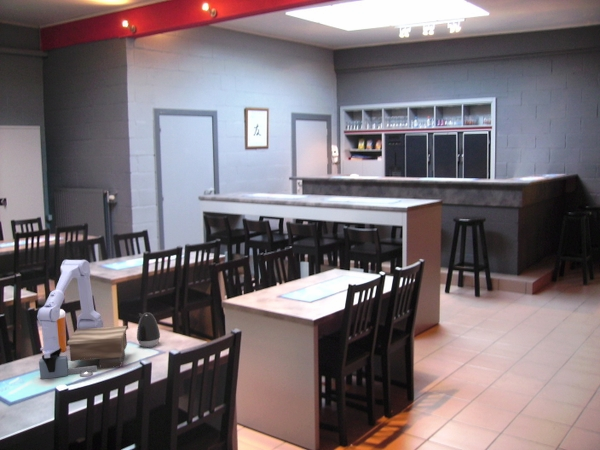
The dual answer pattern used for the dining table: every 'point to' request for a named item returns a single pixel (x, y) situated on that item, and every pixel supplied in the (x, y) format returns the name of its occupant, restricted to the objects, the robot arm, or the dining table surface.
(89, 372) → the steel token
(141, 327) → the black egg-shaped piece
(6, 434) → the dining table surface
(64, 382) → the dining table surface
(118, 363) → the cabinet
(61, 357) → the grey block with tab
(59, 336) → the shaker bottle
